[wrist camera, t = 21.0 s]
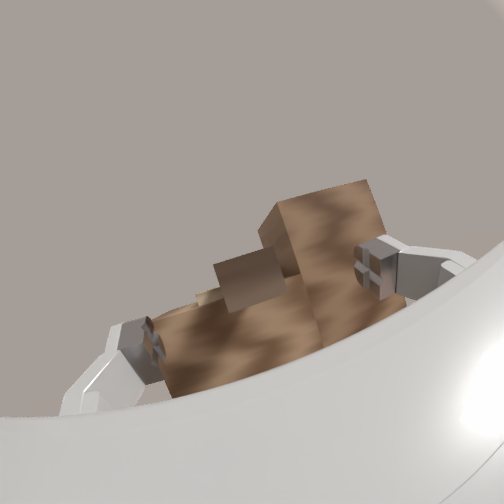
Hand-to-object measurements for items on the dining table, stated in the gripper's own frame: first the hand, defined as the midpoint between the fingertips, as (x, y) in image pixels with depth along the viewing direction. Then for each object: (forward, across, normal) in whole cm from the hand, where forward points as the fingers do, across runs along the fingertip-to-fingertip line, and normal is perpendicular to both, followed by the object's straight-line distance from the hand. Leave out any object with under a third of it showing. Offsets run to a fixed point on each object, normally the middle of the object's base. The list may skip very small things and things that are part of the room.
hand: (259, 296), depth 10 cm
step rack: (+5, -3, +26) cm, 27 cm away
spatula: (+10, 0, +6) cm, 11 cm away
